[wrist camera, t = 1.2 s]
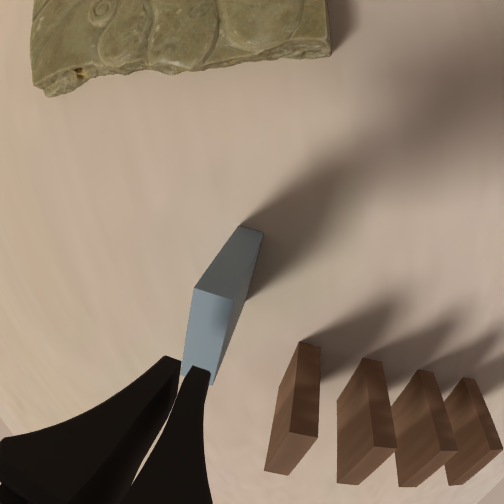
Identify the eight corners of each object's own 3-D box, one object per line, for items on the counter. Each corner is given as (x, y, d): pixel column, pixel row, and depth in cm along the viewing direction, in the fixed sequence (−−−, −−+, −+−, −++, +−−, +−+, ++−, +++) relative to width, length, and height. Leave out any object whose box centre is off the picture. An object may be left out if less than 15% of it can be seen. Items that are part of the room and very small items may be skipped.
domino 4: (433, 372, 21) (458, 451, 14) (403, 412, 23) (416, 487, 16) (417, 369, 21) (440, 450, 14) (388, 410, 23) (398, 486, 16)
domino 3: (381, 362, 21) (397, 448, 14) (354, 404, 23) (357, 485, 16) (362, 358, 21) (373, 446, 14) (336, 400, 23) (336, 482, 16)
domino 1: (263, 232, 19) (233, 300, 12) (245, 301, 21) (212, 385, 14) (238, 225, 19) (193, 287, 12) (222, 294, 21) (180, 374, 14)
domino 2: (320, 347, 22) (317, 437, 14) (297, 392, 24) (288, 475, 16) (299, 341, 22) (288, 431, 14) (278, 387, 24) (263, 470, 16)
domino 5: (474, 379, 21) (503, 449, 13) (444, 416, 23) (462, 484, 15) (462, 377, 21) (490, 450, 13) (432, 415, 23) (448, 485, 15)
